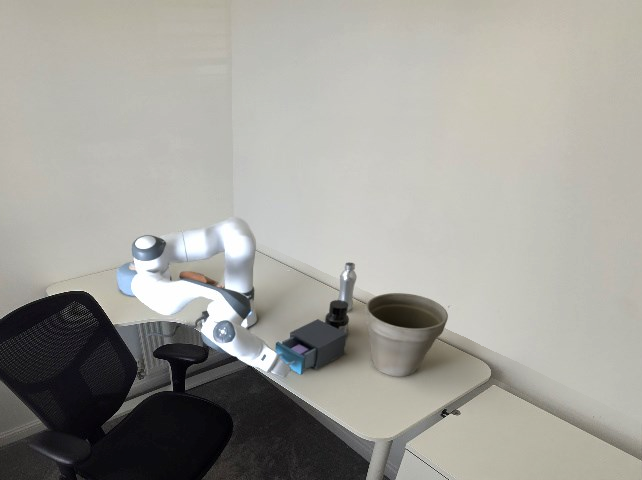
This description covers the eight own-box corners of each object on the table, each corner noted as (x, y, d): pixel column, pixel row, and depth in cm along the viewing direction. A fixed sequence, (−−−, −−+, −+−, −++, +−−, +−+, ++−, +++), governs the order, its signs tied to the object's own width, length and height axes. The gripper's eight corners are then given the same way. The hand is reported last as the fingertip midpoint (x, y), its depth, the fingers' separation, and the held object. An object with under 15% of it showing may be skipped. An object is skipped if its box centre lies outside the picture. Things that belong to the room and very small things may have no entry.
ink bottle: (344, 340, 165) (348, 311, 158) (321, 336, 167) (324, 308, 160) (348, 327, 172) (353, 300, 165) (326, 324, 175) (329, 296, 168)
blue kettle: (169, 289, 202) (166, 264, 194) (128, 300, 193) (123, 275, 185) (151, 275, 214) (148, 251, 207) (112, 285, 205) (107, 260, 198)
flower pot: (343, 366, 151) (351, 310, 138) (377, 338, 166) (388, 285, 153) (411, 396, 138) (428, 337, 125) (442, 362, 152) (460, 307, 139)
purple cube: (298, 363, 149) (299, 354, 147) (289, 358, 152) (290, 348, 149) (307, 358, 151) (308, 349, 149) (298, 353, 154) (299, 344, 152)
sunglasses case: (218, 282, 206) (213, 273, 201) (210, 293, 204) (204, 284, 199) (191, 272, 215) (185, 263, 210) (183, 283, 214) (177, 275, 208)
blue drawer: (288, 381, 143) (289, 364, 139) (262, 365, 150) (263, 348, 146) (327, 359, 153) (329, 343, 149) (301, 345, 160) (302, 329, 156)
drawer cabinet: (316, 369, 150) (319, 348, 145) (288, 352, 158) (289, 332, 153) (344, 353, 157) (347, 333, 152) (315, 338, 166) (317, 318, 161)
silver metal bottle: (352, 313, 182) (359, 267, 170) (335, 312, 183) (341, 266, 171) (352, 306, 187) (359, 261, 175) (336, 305, 188) (341, 260, 176)
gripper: (226, 345, 140) (249, 359, 151) (269, 374, 127) (291, 386, 138) (236, 328, 140) (258, 343, 150) (281, 355, 127) (302, 370, 138)
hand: (274, 364), depth 144 cm, fingers closed, pressing on blue drawer
